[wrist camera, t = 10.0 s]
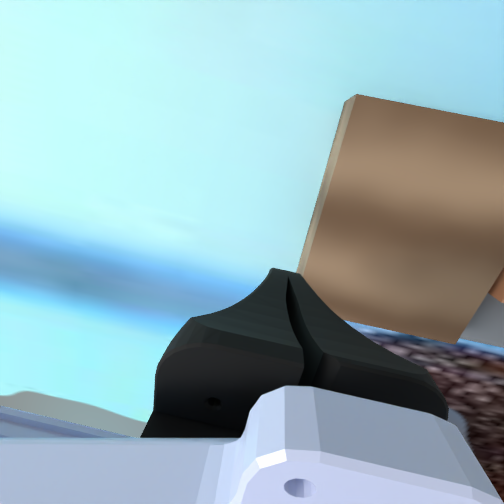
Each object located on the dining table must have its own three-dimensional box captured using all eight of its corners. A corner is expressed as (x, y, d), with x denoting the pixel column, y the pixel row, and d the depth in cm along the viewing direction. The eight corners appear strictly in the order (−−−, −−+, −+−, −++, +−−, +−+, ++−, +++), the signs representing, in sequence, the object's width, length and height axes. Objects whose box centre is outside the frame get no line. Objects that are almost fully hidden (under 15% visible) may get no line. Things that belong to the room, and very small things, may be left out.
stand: (433, 319, 22) (455, 344, 19) (291, 288, 22) (292, 308, 20) (534, 139, 17) (584, 138, 14) (344, 101, 17) (356, 93, 14)
